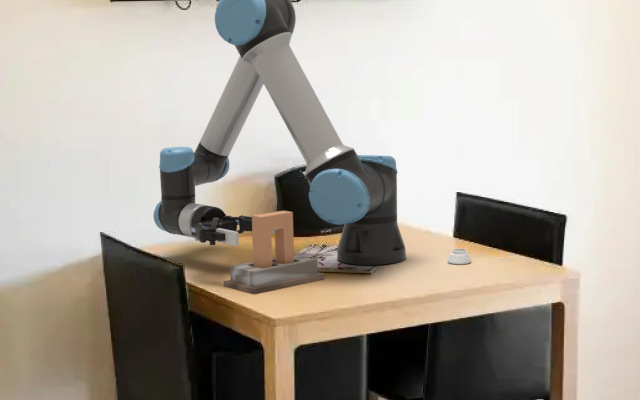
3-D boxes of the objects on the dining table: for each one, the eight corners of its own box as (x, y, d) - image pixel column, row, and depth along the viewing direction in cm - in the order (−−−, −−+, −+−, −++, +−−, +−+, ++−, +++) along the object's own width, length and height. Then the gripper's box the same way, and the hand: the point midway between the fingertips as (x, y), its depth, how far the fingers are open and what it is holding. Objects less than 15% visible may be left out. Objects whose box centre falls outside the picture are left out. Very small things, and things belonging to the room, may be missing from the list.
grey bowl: (443, 262, 231) (454, 266, 226) (443, 248, 230) (454, 253, 226) (463, 260, 232) (475, 264, 228) (463, 246, 232) (475, 250, 227)
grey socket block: (223, 285, 213) (223, 266, 212) (293, 271, 224) (293, 253, 224) (254, 294, 205) (253, 273, 205) (324, 278, 217) (324, 259, 216)
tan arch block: (254, 279, 213) (251, 215, 211) (285, 273, 218) (283, 210, 216) (263, 281, 211) (261, 217, 209) (294, 275, 216) (292, 212, 214)
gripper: (250, 231, 239) (311, 243, 224) (155, 247, 223) (214, 261, 207) (249, 198, 238) (310, 208, 222) (153, 212, 222) (212, 224, 206)
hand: (264, 234), depth 215 cm, fingers open, 13 cm apart
